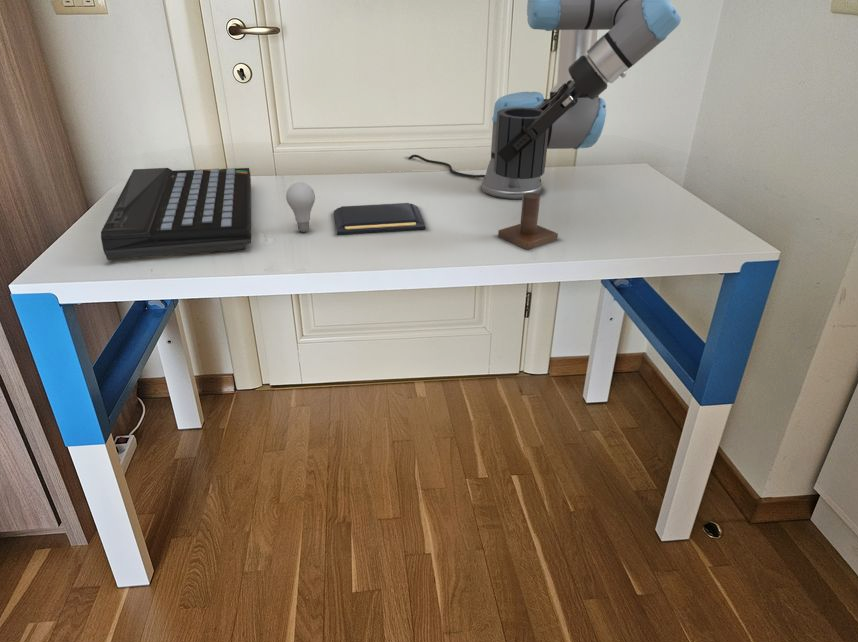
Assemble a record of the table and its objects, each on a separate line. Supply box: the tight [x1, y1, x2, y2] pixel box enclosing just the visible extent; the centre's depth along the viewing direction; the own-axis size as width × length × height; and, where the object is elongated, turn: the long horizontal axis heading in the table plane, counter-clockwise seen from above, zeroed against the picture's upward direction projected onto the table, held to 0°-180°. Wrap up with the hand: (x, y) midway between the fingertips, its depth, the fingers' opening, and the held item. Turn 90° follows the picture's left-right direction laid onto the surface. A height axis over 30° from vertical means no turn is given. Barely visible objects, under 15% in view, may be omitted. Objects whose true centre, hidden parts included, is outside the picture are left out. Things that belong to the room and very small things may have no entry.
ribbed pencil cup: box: [494, 107, 549, 179], centre depth 129 cm, size 10×10×12 cm
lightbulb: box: [285, 181, 316, 233], centre depth 141 cm, size 6×6×11 cm
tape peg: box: [497, 193, 559, 250], centre depth 138 cm, size 9×9×10 cm
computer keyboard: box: [100, 167, 252, 261], centre depth 148 cm, size 45×28×7 cm, turn 12°
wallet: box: [333, 202, 426, 236], centre depth 149 cm, size 20×2×15 cm
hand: (505, 150), depth 131 cm, fingers closed on ribbed pencil cup, 10 cm apart
